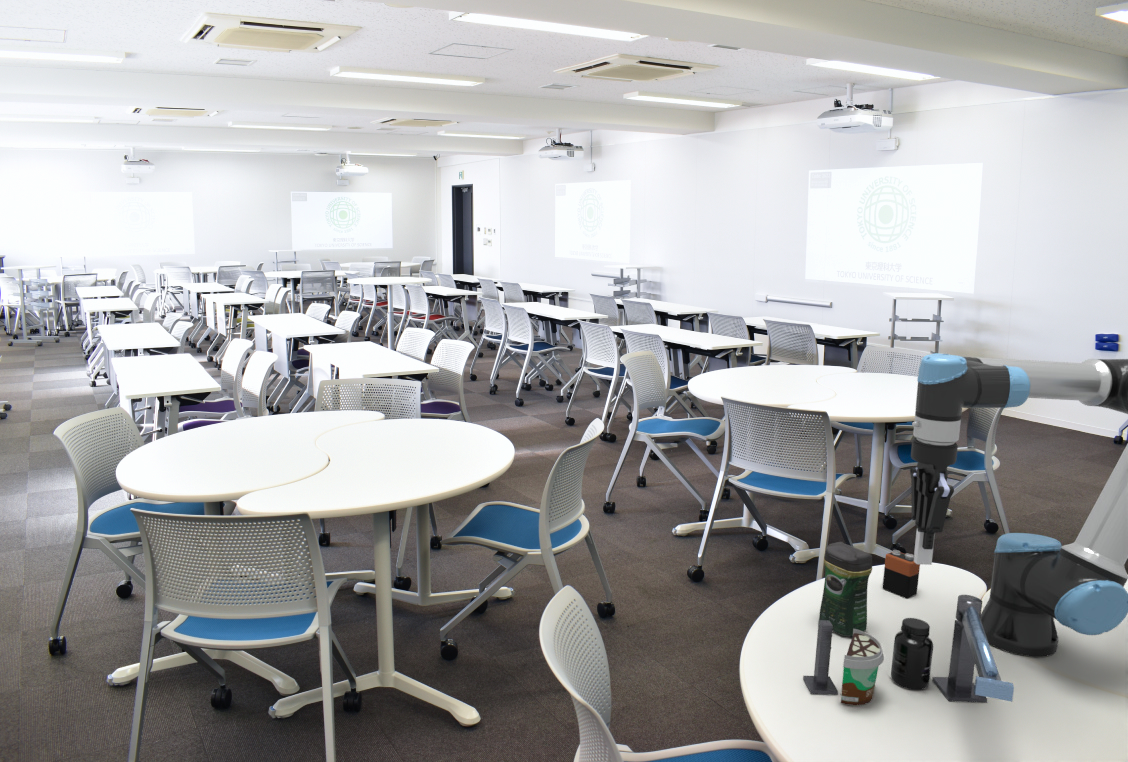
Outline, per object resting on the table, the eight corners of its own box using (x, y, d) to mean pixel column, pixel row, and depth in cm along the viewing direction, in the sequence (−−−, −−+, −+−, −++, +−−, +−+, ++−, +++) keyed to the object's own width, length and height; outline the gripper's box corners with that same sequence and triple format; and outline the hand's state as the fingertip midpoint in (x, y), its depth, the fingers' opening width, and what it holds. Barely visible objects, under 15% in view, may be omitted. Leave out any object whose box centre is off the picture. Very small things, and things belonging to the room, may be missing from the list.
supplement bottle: (932, 693, 147) (939, 634, 145) (894, 688, 149) (900, 629, 147) (924, 674, 154) (930, 617, 152) (887, 669, 155) (893, 613, 153)
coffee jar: (872, 633, 170) (880, 551, 167) (847, 641, 166) (854, 558, 163) (837, 614, 178) (844, 536, 175) (812, 621, 174) (819, 542, 171)
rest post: (829, 680, 151) (834, 617, 149) (837, 694, 146) (843, 629, 144) (803, 679, 151) (808, 616, 149) (810, 694, 146) (816, 629, 144)
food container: (875, 717, 140) (881, 665, 138) (839, 707, 142) (844, 656, 141) (883, 683, 150) (888, 635, 149) (849, 675, 153) (853, 627, 151)
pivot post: (968, 681, 152) (976, 615, 149) (987, 702, 145) (995, 634, 142) (931, 680, 152) (939, 614, 149) (948, 701, 145) (956, 632, 142)
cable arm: (951, 612, 148) (953, 592, 148) (981, 617, 147) (983, 597, 146) (974, 697, 120) (977, 673, 120) (1011, 704, 119) (1014, 680, 118)
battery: (907, 599, 187) (911, 559, 185) (881, 589, 192) (885, 550, 190) (917, 595, 189) (921, 555, 187) (891, 584, 194) (895, 546, 193)
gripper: (899, 431, 149) (888, 548, 153) (930, 449, 136) (917, 577, 141) (939, 431, 149) (927, 549, 153) (973, 450, 136) (959, 578, 141)
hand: (922, 562), depth 147 cm, fingers closed
